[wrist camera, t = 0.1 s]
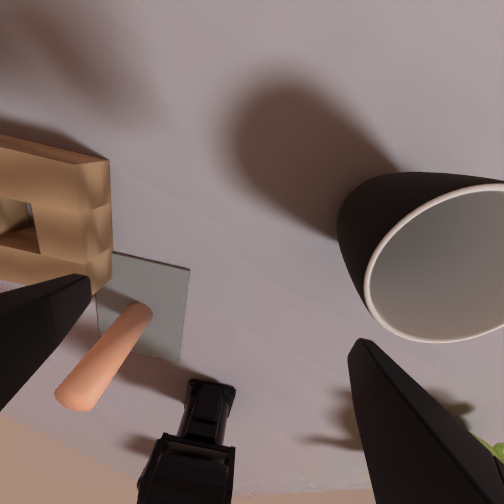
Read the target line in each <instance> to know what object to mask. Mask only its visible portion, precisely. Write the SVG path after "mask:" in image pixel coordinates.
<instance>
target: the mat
mask: <svg viewBox="0 0 504 504" xmlns="http://www.w3.org/2000/svg"><path fill="white" fill-rule="evenodd" d="M111 254H112V276H113V278H112V279H111V280H110V281H108V282H107V283H106V284H105V285H104V286H103V287H102V288H100V289H99V290H98V291H97V292H96V302H97V314H98V325H99V336H100V338H101V337H102V335H103V334H104V333H105V332H106V331H107V330H108V328H109V327H110V326H111V325H112V324H113V323H114V321H115V320H116V319H117V318H118V317H119V316H120V314H121V313H122V312H123V311H124V310H125V309H126V307H127V306H128V305H129V304H130V303H133V302H141V303H144V304H145V305H147V306H148V307H149V308H150V309H151V310H152V313H153V317H152V319H151V321H150V322H149V324H148V325H147V327H146V328H145V330H144V331H143V333H142V334H141V336H140V337H139V339H138V340H137V342H136V343H135V345H134V346H133V348H132V349H131V351H130V352H131V353H135V354H140V355H145V356H149V357H154V358H158V359H163V360H167V361H172V362H177V363H178V361H179V354H180V346H181V338H182V330H183V322H184V314H185V306H186V298H187V290H188V282H189V274H190V270H189V269H184V268H180V267H176V266H171V265H167V264H163V263H158V262H154V261H150V260H145V259H141V258H137V257H132V256H128V255H124V254H120V253H115V252H113V253H111Z"/></svg>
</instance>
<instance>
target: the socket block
mask: <svg viewBox="0 0 504 504" xmlns="http://www.w3.org/2000/svg"><path fill="white" fill-rule="evenodd" d="M26 203H30V204H31V207H32V212H33V218H34V223H35V227H31V224H30V220H29V215H28V210H27V205H26ZM111 253H113V235H112V212H111V189H110V165H109V160H106V159H102V158H98V157H94V156H90V155H86V154H82V153H78V152H74V151H69V150H65V149H61V148H57V147H53V146H49V145H45V144H41V143H37V142H33V141H28V140H24V139H20V138H16V137H12V136H8V135H4V134H0V279H1V280H6V281H10V282H15V283H19V284H24V285H28V286H29V285H32V284H36V283H40V282H43V281H47V280H51V279H54V278H58V277H62V276H66V275H69V274H73V273H78V274H83V275H87V276H89V278H90V280H91V291H92V295H94V294H95V293H96V292H97V291H98V290H99V289H100V288H102V287H103V286H104V285H105V284H106V283H107V282H108V281H110V280H111V279H112V278H113V276H112V254H111Z"/></svg>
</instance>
